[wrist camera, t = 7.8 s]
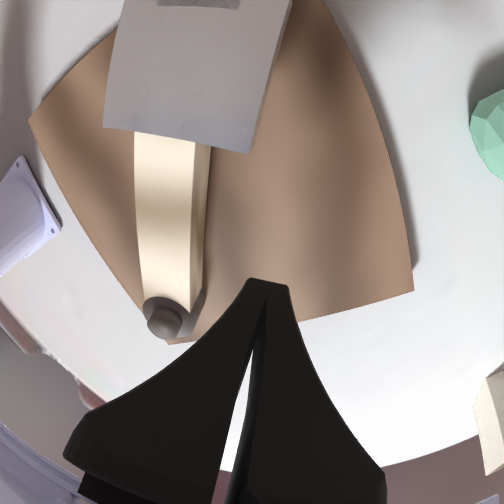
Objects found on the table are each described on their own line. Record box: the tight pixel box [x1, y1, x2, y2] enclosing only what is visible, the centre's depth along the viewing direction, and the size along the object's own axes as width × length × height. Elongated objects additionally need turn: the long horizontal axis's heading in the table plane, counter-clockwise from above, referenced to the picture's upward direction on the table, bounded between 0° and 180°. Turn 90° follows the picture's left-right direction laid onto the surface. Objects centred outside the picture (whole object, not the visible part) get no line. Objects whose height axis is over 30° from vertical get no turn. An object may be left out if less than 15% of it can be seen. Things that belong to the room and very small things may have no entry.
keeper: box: [102, 0, 292, 155], centre depth 9 cm, size 8×6×5 cm
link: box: [134, 132, 211, 340], centre depth 14 cm, size 16×4×4 cm, turn 172°
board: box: [28, 0, 414, 345], centre depth 16 cm, size 20×22×2 cm
